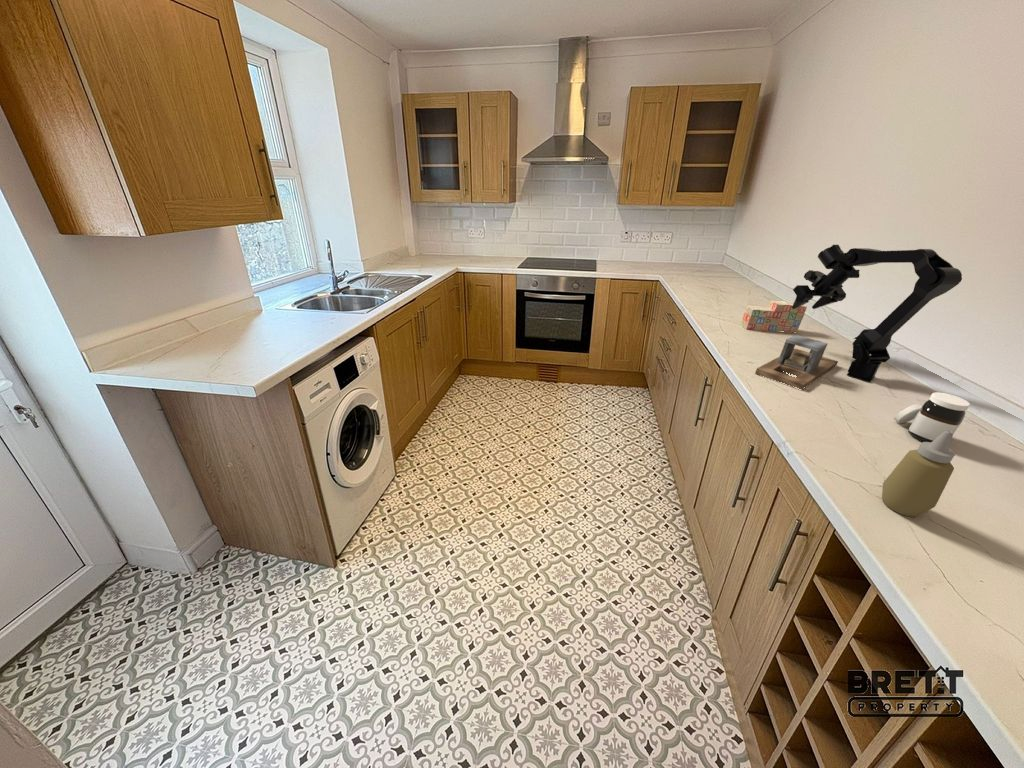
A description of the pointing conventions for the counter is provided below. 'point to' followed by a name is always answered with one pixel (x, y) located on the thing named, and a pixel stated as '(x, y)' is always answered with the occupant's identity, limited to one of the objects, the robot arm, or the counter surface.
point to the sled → (796, 365)
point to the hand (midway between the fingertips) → (802, 308)
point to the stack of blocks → (774, 317)
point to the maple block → (800, 358)
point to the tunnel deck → (804, 378)
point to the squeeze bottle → (920, 477)
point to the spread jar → (934, 416)
